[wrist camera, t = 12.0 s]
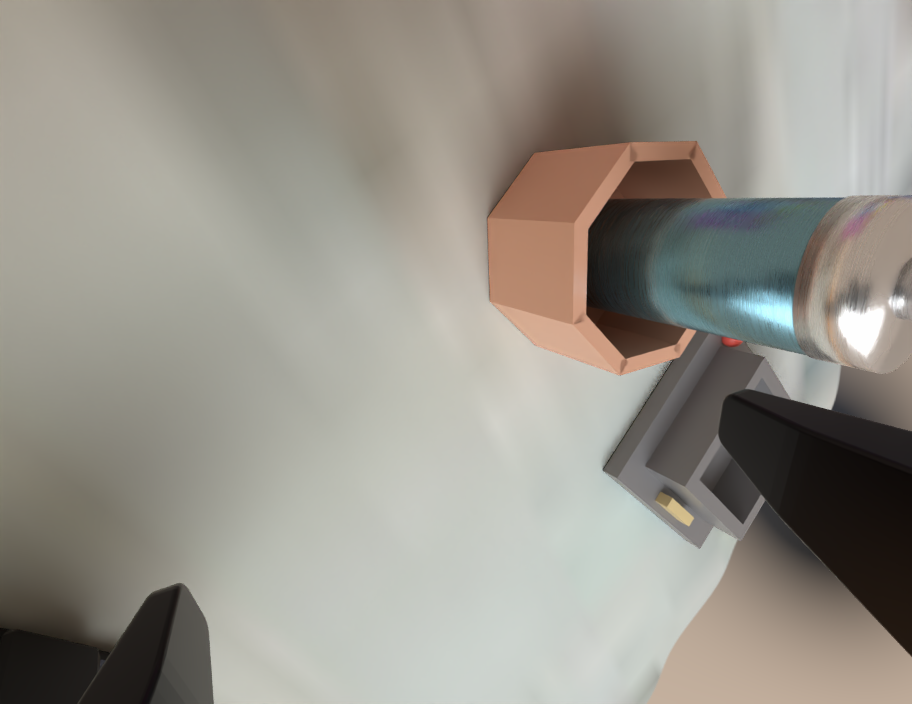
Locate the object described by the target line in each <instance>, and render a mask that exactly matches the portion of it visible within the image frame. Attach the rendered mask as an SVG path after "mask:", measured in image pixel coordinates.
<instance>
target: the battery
mask: <svg viewBox="0 0 912 704" xmlns="http://www.w3.org/2000/svg"><path fill="white" fill-rule="evenodd" d="M586 306H587V307H592V308H597V309H601V310H606V311H610V312H615V313H619V314H624V315H628V316H633V317H637V318H642V319H646V320H651V321H655V322H660V323H664V324H669V325H673V326H678V327H682V328H687V329H691V330H696V331H700V332H705V333H709V334H714V335H718V336H723V337H727V338H732V339H736V340H741V341H745V342H750V343H754V344H759V345H763V346H768V347H772V348H777V349H781V350H786V351H790V352H795V353H799V354H804V355H807V356H809V357H811V358H814V359H818V360H822V361H827V362H831V363H836V364H840V365H845V366H849V367H853V368H858V369H863V370H867V371H872V372H876V373H882V374H886V373H890V372H892V371H894V370H896V369H897V368H898V367H899V366H901V365H902V364H903V363H904V362H905V361H906V360H907V359H908V358H909V356H910V355H911V354H912V195H867V196H849V197H846V198H649V199H608V201H607V202H606V204H605V205H604V207H603V208H602V210H601V211H600V212H599V214H598V215H597V217H596V218H595V220H594V221H593V223H592V224H591V226H590V227H589V228H588V252H587V295H586Z"/></svg>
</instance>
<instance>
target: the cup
mask: <svg viewBox="0 0 912 704" xmlns="http://www.w3.org/2000/svg"><path fill="white" fill-rule="evenodd" d="M649 198H726V196H725V194H724V192H723V190H722V188H721V186H720V184H719V183H718V181H717V179H716V177H715V175H714V173H713V171H712V169H711V167H710V165H709V164H708V162H707V160H706V158H705V156H704V154H703V152H702V150H701V148H700V147H699V145H698V143H697V141H680V142H629V143H619V144H610V145H601V146H592V147H582V148H573V149H564V150H555V151H546V152H536V153H534V154H533V155H532V157H531V158H530V160H529V161H528V162H527V164H526V165H525V167H524V168H523V169H522V171H521V172H520V173H519V175H518V176H517V178H516V179H515V180H514V182H513V183H512V185H511V186H510V187H509V189H508V190H507V192H506V193H505V194H504V196H503V197H502V198H501V200H500V201H499V203H498V204H497V205H496V207H495V208H494V210H493V211H492V212H491V214H490V215H489V216H488V218H487V222H488V254H489V285H490V302H491V303H492V304H493V305H494V306H495V307H496V308H497V309H498V310H499V311H500V312H501V313H502V314H503V315H504V316H505V317H507V318H508V319H509V320H510V321H511V322H512V323H513V324H514V325H515V326H516V327H517V328H518V329H519V330H520V331H521V332H522V333H523V334H524V335H525V336H526V337H527V338H528V339H529V340H530V341H531V342H532V343H533V344H534V345H536V346H538V347H541V348H544V349H547V350H549V351H552V352H555V353H558V354H561V355H564V356H566V357H569V358H572V359H575V360H578V361H580V362H583V363H586V364H589V365H592V366H595V367H597V368H600V369H603V370H606V371H609V372H611V373H614V374H617V375H623V374H627V373H630V372H633V371H636V370H640V369H643V368H646V367H650V366H653V365H656V364H659V363H663V362H666V361H669V360H672V359H676V358H679V357H680V356H681V354H682V353H683V351H684V350H685V348H686V347H687V345H688V343H689V342H690V340H691V339H692V337H693V336H694V334H695V332H696V330H691V329H687V328H682V327H678V326H673V325H669V324H664V323H660V322H655V321H651V320H646V319H642V318H637V317H633V316H628V315H624V314H619V313H615V312H610V311H606V310H601V309H597V308H592V307H587V306H586V295H587V252H588V228H589V227H590V226H591V224H592V223H593V221H594V220H595V218H596V217H597V215H598V214H599V212H600V211H601V210H602V208H603V207H604V205H605V204H606V202H607V201H608V199H649Z"/></svg>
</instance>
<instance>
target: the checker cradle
mask: <svg viewBox="0 0 912 704" xmlns="http://www.w3.org/2000/svg"><path fill="white" fill-rule="evenodd" d="M743 389H751V390H755V391H759V392H763V393H767V394H771V395H775V396H778V397H782V398H786V399H790V397H789V396H788V394H787V392H786V391H785V389H784V388H783V386H782V384H781V383H780V381H779V379H778V378H777V376H776V375H775V373H774V371H773V370H772V368H771V367H770V365H769V363H768V362H767V360H766V358H765V357H762V356H758V355H754V354H753V353H752V352H751V350H750V349H749V347H748V345H747V344H746V342H745V341H741V340H736V339H732V338H727V337H723V336H718V335H714V334H709V333H705V332H700V331H696V332H695V334H694V336H693V337H692V339H691V340H690V342H689V343H688V345H687V347H686V348H685V350H684V351H683V353H682V354H681V356H680V357H679V358H676V359H674V360H673V362H672V363H671V365H670V366H669V368H668V369H667V371H666V372H665V374H664V376H663V377H662V379H661V380H660V382H659V383H658V385H657V387H656V388H655V390H654V391H653V393H652V394H651V396H650V397H649V399H648V401H647V402H646V404H645V405H644V407H643V408H642V410H641V412H640V413H639V415H638V416H637V418H636V419H635V421H634V422H633V424H632V426H631V427H630V429H629V430H628V432H627V433H626V435H625V437H624V438H623V440H622V441H621V443H620V444H619V446H618V447H617V449H616V451H615V452H614V454H613V455H612V457H611V458H610V460H609V462H608V463H607V465H606V466H605V468H604V469H603V471H604V472H605V473H606V474H608V475H609V476H610V477H611V478H612V479H613V480H615V481H616V482H617V483H618V484H619V485H621V486H622V487H623V488H624V489H625V490H627V491H628V492H629V493H630V494H631V495H633V496H634V497H635V498H636V499H637V500H638V501H640V502H641V503H642V504H643V505H644V506H646V507H647V508H648V509H649V510H650V511H652V512H653V513H654V514H655V515H656V516H658V517H659V518H660V519H661V520H662V521H663V522H665V523H666V524H667V525H668V526H669V527H671V528H672V529H673V530H674V531H675V532H677V533H678V534H679V535H680V536H681V537H682V538H684V539H685V540H686V541H688V542H689V543H691V544H693V545H694V546H696V547H698V548H699V549H700V548H701V546H702V544H703V543H704V541H705V539H706V538H707V536H708V534H709V533H710V531H711V529H712V528H713V526H714V527H716V528H718V529H720V530H722V531H723V532H725V533H727V534H729V535H731V536H732V537H734V538H736V539H738V540H740V541H741V540H742V539H743V537H744V535H745V533H746V532H747V530H748V528H749V527H750V525H751V523H752V522H753V520H754V518H755V517H756V515H757V513H758V511H759V510H760V508H761V506H762V505H763V503H764V501H765V499H764V498H763V496H762V495H761V494H760V492H759V491H758V490H757V489H756V487H755V486H754V485H753V484H752V482H751V481H750V480H749V479H748V477H747V476H746V475H745V473H744V472H743V471H742V470H741V468H740V467H739V466H738V465H737V463H736V462H735V461H734V459H733V458H732V457H731V456H730V454H729V453H728V452H727V451H726V449H725V448H724V447H723V445H722V444H721V442H720V440H719V437H718V426H719V420H720V414H721V408H722V402H723V399H724V398H725V397H726V396H727V395H729V394H731V393H734V392H737V391H740V390H743ZM790 400H791V399H790Z"/></svg>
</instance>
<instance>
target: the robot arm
mask: <svg viewBox="0 0 912 704" xmlns="http://www.w3.org/2000/svg"><path fill="white" fill-rule="evenodd" d="M718 437H719V440H720V442H721V444H722V445H723V447H724V448H725V449H726V451H727V452H728V453H729V454H730V456H731V457H732V458H733V459H734V461H735V462H736V463H737V465H738V466H739V467H740V468H741V470H742V471H743V472H744V473H745V475H746V476H747V477H748V479H749V480H750V481H751V482H752V484H753V485H754V486H755V487H756V489H757V490H758V491H759V492H760V494H761V495H762V496H763V498H764V499H765V500H766V501H767V503H768V504H769V505H770V506H771V507H772V509H773V510H774V511H775V512H776V513H777V515H778V516H779V517H780V518H781V519H782V520H783V521H784V522H785V524H786V525H787V526H788V527H789V528H790V529H791V530H792V531H793V532H794V533H795V534H796V535H797V536H798V537H799V538H800V539H801V541H802V542H804V544H805V545H806V546H807V547H808V548H809V549H810V550H811V551H812V552H813V553H814V554H815V555H816V556H817V557H818V559H819V560H820V561H821V562H822V563H823V564H824V565H825V566H826V567H827V568H828V569H829V570H830V571H831V572H832V573H833V574H834V575H835V576H836V577H837V579H838V580H839V581H840V582H841V583H842V584H843V585H844V586H845V587H846V588H847V589H848V590H849V591H850V592H851V593H852V594H853V595H854V596H855V598H856V599H857V600H858V601H859V602H860V603H861V604H862V605H863V606H864V607H865V608H866V609H867V610H868V611H869V612H870V613H871V614H872V616H874V618H875V619H876V620H877V621H878V622H879V623H880V624H881V625H882V626H883V627H884V628H885V629H886V630H887V631H888V632H889V633H890V634H891V636H892V637H893V638H894V639H895V640H896V641H897V642H898V643H899V644H900V645H901V646H902V647H903V648H904V649H905V650H906V651H907V652H908V653H909V654H910V656H911V657H912V431H908V430H904V429H900V428H896V427H893V426H889V425H885V424H881V423H877V422H874V421H870V420H866V419H862V418H858V417H855V416H851V415H847V414H843V413H839V412H835V411H832V410H828V409H824V408H820V407H816V406H813V405H809V404H805V403H801V402H797V401H794V400H790V399H786V398H782V397H778V396H775V395H771V394H767V393H763V392H759V391H755V390H751V389H743V390H740V391H737V392H734V393H731V394H729V395H727V396H726V397H725V398H724V399H723V402H722V408H721V414H720V420H719V426H718ZM0 704H214V701H213V686H212V671H211V656H210V641H209V630H208V625H207V622H206V619H205V617H204V615H203V613H202V611H201V610H200V608H199V606H198V605H197V603H196V601H195V600H194V598H193V596H192V594H191V593H190V591H189V589H188V588H187V587H186V586H185V585H184V584H182V583H177V584H174V585H172V586H169V587H166V588H163V589H160V590H157V591H154V592H153V593H151V594H150V595H149V596H148V597H147V598H146V600H145V601H144V603H143V604H142V606H141V607H140V609H139V610H138V612H137V613H136V615H135V616H134V618H133V619H132V621H131V623H130V624H129V626H128V627H127V629H126V630H125V632H124V633H123V635H122V636H121V638H120V639H119V641H118V642H117V644H116V645H115V647H114V648H113V650H112V652H111V653H108V652H103V651H99V650H98V649H97V648H95V647H91V646H87V645H82V644H78V643H74V642H69V641H65V640H61V639H56V638H52V637H48V636H43V635H39V634H35V633H30V632H26V631H22V630H13V631H12V630H7V629H3V628H0Z"/></svg>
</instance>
